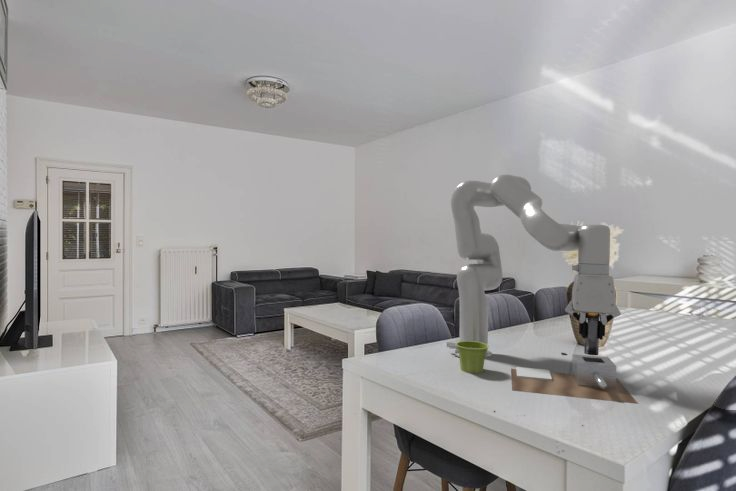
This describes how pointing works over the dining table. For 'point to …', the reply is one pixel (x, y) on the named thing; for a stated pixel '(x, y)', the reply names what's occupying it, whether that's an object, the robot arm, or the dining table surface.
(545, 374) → the mat
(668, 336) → the dining table surface
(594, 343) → the key peg
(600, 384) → the block
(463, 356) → the plant pot
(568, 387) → the walnut board
